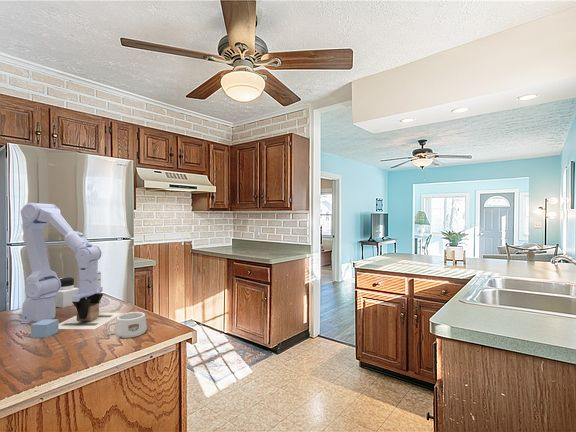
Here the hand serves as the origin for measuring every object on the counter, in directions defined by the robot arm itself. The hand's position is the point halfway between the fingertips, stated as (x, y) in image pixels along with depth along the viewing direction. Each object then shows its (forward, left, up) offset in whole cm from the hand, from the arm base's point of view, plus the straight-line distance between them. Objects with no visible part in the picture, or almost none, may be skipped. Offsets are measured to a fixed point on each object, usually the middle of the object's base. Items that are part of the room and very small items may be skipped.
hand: (88, 316), depth 114 cm
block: (0, 0, -1) cm, 1 cm away
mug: (+20, -11, -3) cm, 23 cm away
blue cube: (-5, -14, -3) cm, 15 cm away
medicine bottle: (-24, +22, -3) cm, 33 cm away
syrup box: (-14, +24, -3) cm, 28 cm away
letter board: (0, 0, -2) cm, 2 cm away
